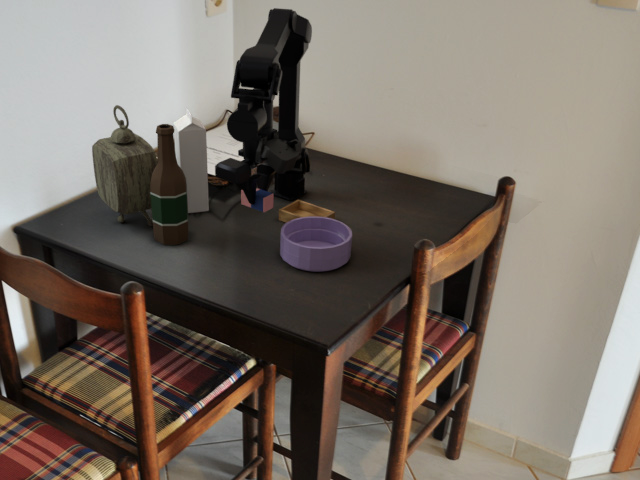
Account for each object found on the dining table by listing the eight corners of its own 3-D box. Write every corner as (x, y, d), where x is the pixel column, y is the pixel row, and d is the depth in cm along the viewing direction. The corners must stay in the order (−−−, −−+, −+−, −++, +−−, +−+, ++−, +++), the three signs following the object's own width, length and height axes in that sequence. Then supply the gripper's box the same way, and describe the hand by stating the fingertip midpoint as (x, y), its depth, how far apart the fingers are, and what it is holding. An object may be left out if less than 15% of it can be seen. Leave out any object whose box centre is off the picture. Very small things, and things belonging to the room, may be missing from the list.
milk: (183, 214, 170) (176, 117, 157) (178, 203, 174) (171, 108, 162) (209, 211, 171) (205, 114, 158) (204, 200, 176) (199, 105, 163)
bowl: (266, 258, 153) (266, 233, 150) (307, 233, 162) (308, 210, 159) (323, 280, 146) (324, 255, 143) (363, 254, 155) (365, 230, 152)
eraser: (240, 204, 152) (240, 190, 151) (250, 199, 154) (250, 185, 153) (263, 212, 149) (264, 198, 148) (273, 207, 151) (273, 193, 150)
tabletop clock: (162, 227, 164) (154, 113, 149) (123, 237, 160) (111, 120, 145) (135, 203, 174) (124, 94, 159) (97, 212, 169) (83, 100, 155)
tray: (278, 219, 168) (278, 209, 166) (298, 209, 173) (298, 199, 171) (315, 233, 163) (316, 222, 161) (334, 222, 167) (335, 211, 166)
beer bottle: (196, 232, 162) (191, 122, 148) (180, 248, 156) (174, 135, 142) (163, 226, 164) (155, 117, 150) (146, 242, 158) (137, 129, 144)
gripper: (258, 147, 132) (258, 228, 141) (321, 121, 144) (317, 197, 153) (212, 133, 138) (214, 211, 147) (276, 109, 150) (274, 183, 159)
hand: (257, 201), depth 151 cm, fingers closed on eraser, 3 cm apart
